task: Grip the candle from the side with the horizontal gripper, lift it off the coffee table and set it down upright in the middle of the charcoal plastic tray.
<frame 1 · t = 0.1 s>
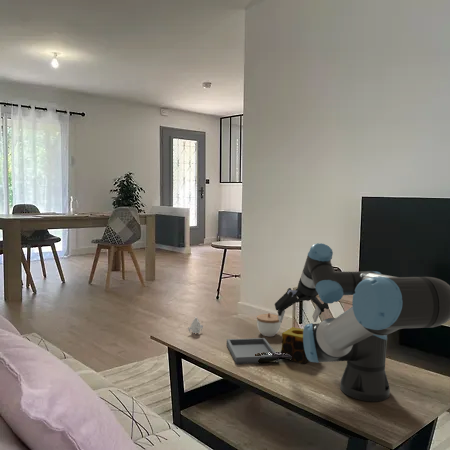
hand: (297, 319, 168), 15 cm above the table, tool tilted 35°, fingers open, 13 cm apart
lidded jar: (268, 334, 197), on the table
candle: (297, 358, 170), on the table
rocket toy: (195, 334, 195), on the table
tray: (251, 353, 173), on the table
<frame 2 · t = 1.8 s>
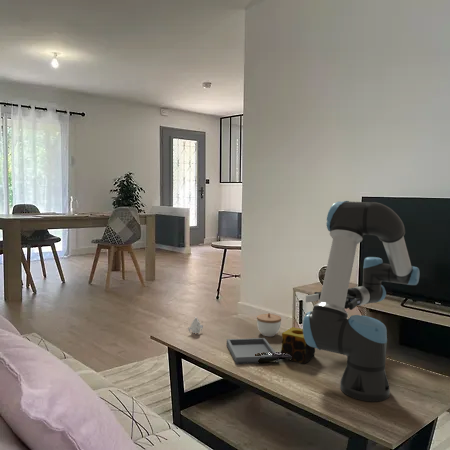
hand: (318, 302, 174), 20 cm above the table, tool horizontal, fingers open, 13 cm apart
nothing on the table moved.
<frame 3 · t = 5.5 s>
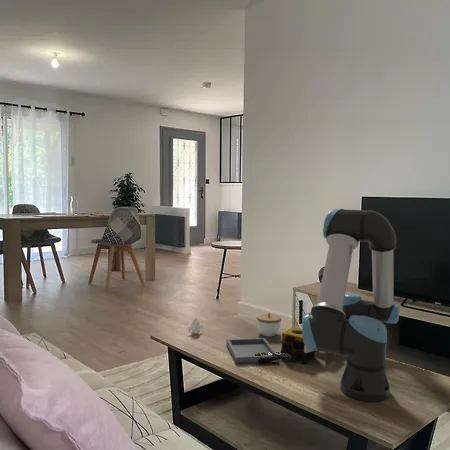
hand: (292, 343, 168), 6 cm above the table, tool horizontal, fingers open, 13 cm apart
nothing on the table moved.
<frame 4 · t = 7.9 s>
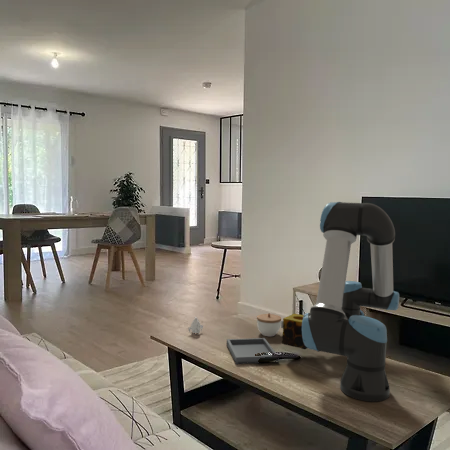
hand: (292, 329, 168), 12 cm above the table, tool horizontal, fingers closed on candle, 13 cm apart
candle: (298, 344, 170), point 5 cm above the table, touching gripper
everything else where it was.
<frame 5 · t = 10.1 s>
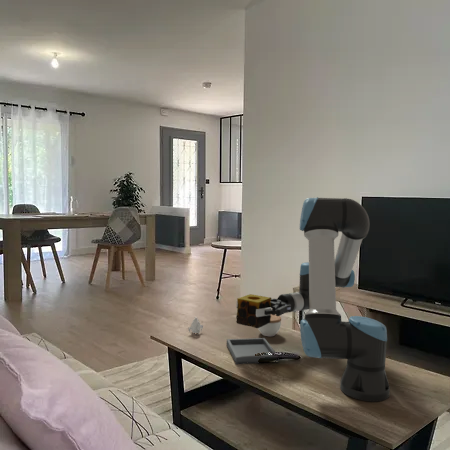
hand: (246, 308, 170), 18 cm above the table, tool horizontal, fingers closed on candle, 13 cm apart
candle: (253, 323, 173), point 12 cm above the table, touching gripper
everything else where it was.
when the fingers open (8 cm above the table, at t = 13.6 s): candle drops 1 cm, resting on tray.
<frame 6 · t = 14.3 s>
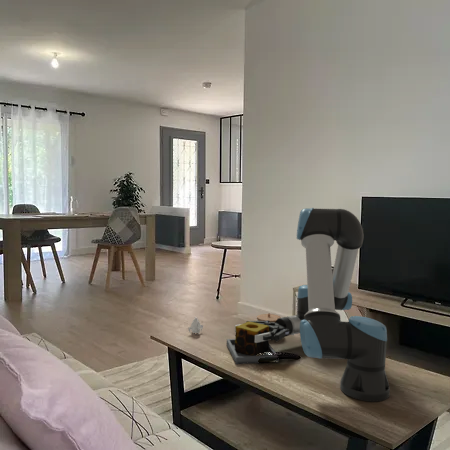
hand: (244, 333, 171), 8 cm above the table, tool horizontal, fingers open, 13 cm apart
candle: (251, 351, 173), point 1 cm above the table, touching gripper, tray
everything else where it was.
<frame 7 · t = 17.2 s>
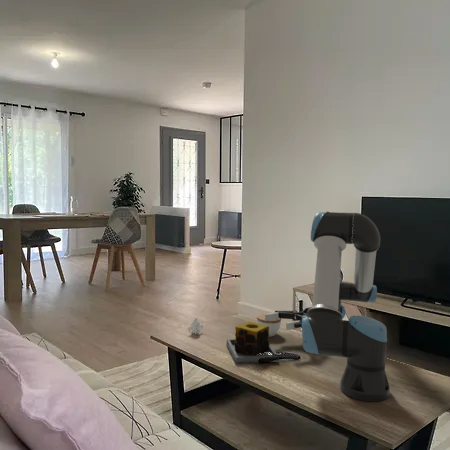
hand: (275, 321, 178), 11 cm above the table, tool horizontal, fingers open, 13 cm apart
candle: (251, 351, 173), point 1 cm above the table, touching tray
everything else where it was.
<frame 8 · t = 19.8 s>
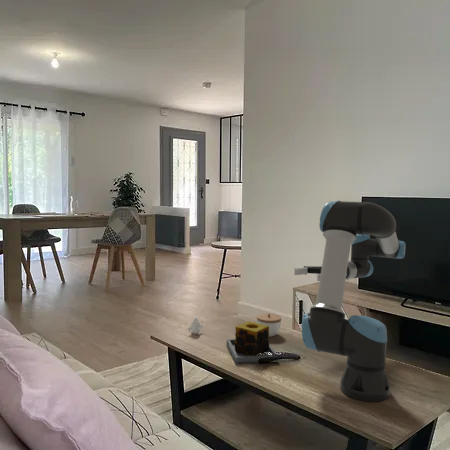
hand: (306, 274, 179), 30 cm above the table, tool horizontal, fingers open, 13 cm apart
nothing on the table moved.
at the end: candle inside the target area on the tray (0.2 cm from its centre), point 0.6 cm above the tray's base; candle tilted 0°; the gripper is holding nothing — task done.
